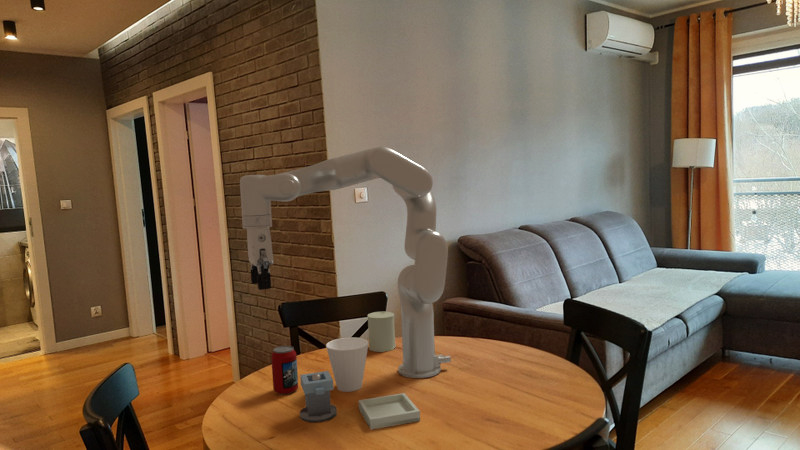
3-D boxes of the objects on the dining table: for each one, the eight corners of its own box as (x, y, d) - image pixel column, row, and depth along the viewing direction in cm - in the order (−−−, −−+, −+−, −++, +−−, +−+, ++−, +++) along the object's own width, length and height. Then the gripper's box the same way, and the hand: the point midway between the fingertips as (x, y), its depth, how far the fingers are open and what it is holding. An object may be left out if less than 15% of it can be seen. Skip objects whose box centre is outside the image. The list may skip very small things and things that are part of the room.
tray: (404, 402, 142) (404, 392, 142) (420, 420, 130) (419, 410, 130) (359, 409, 138) (358, 400, 138) (370, 429, 127) (370, 419, 127)
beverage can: (292, 396, 149) (290, 352, 148) (269, 395, 150) (266, 352, 149) (302, 387, 155) (299, 345, 154) (279, 386, 157) (277, 344, 156)
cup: (377, 381, 157) (375, 338, 156) (360, 397, 146) (358, 351, 145) (339, 377, 161) (337, 336, 160) (320, 393, 150) (318, 348, 149)
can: (398, 344, 192) (397, 310, 191) (392, 352, 183) (390, 316, 182) (373, 343, 194) (371, 309, 193) (365, 351, 185) (363, 316, 184)
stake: (333, 404, 142) (331, 366, 141) (340, 418, 133) (337, 378, 133) (297, 410, 139) (295, 371, 138) (302, 425, 131) (300, 384, 130)
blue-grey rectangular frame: (328, 380, 140) (328, 370, 140) (334, 392, 132) (334, 382, 132) (300, 384, 138) (300, 374, 138) (305, 396, 130) (304, 386, 130)
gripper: (278, 222, 139) (282, 289, 141) (264, 219, 155) (268, 279, 156) (248, 224, 136) (252, 293, 138) (237, 221, 152) (241, 282, 153)
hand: (261, 286), depth 147 cm, fingers open, 9 cm apart
